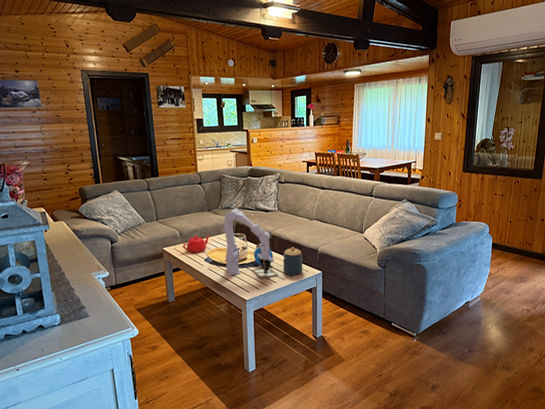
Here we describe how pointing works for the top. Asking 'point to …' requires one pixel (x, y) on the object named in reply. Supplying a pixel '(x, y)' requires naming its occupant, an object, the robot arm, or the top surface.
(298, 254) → the canister
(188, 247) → the teapot
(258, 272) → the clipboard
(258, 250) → the alarm clock
